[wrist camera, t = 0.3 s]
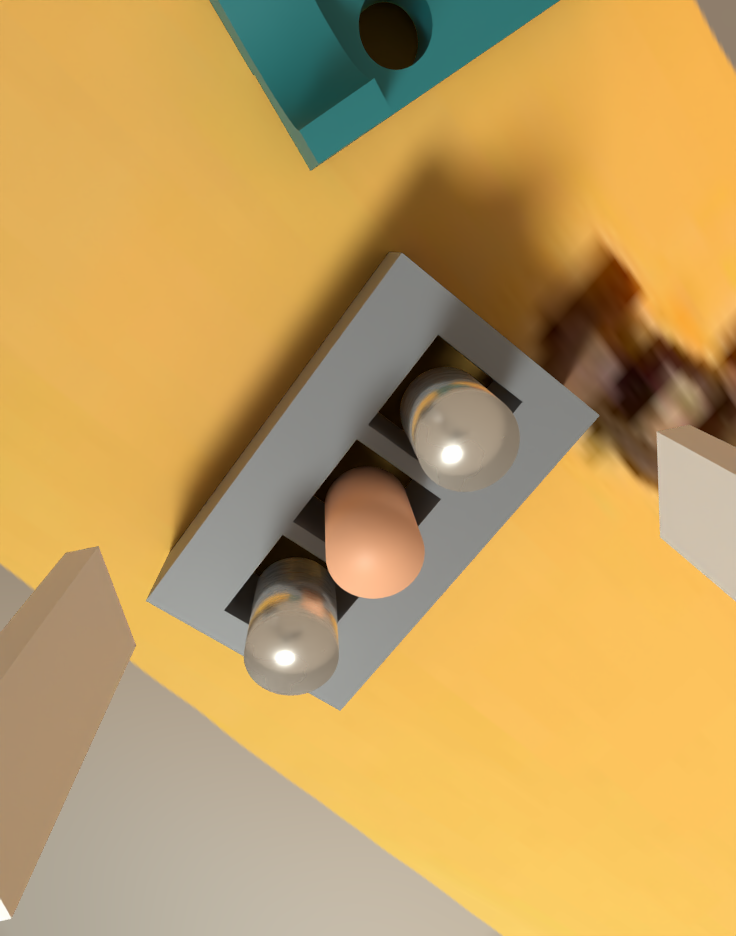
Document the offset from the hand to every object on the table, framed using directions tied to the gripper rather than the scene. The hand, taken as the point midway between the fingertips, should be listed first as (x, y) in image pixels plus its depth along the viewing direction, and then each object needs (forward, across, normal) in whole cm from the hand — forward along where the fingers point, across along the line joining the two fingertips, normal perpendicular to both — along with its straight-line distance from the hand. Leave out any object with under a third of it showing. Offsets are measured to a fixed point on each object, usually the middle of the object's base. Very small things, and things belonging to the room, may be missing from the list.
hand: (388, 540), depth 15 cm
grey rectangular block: (+25, 0, -8) cm, 27 cm away
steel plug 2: (+20, +5, -3) cm, 21 cm away
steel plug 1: (+20, -6, -12) cm, 24 cm away
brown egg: (+20, -1, -8) cm, 22 cm away
